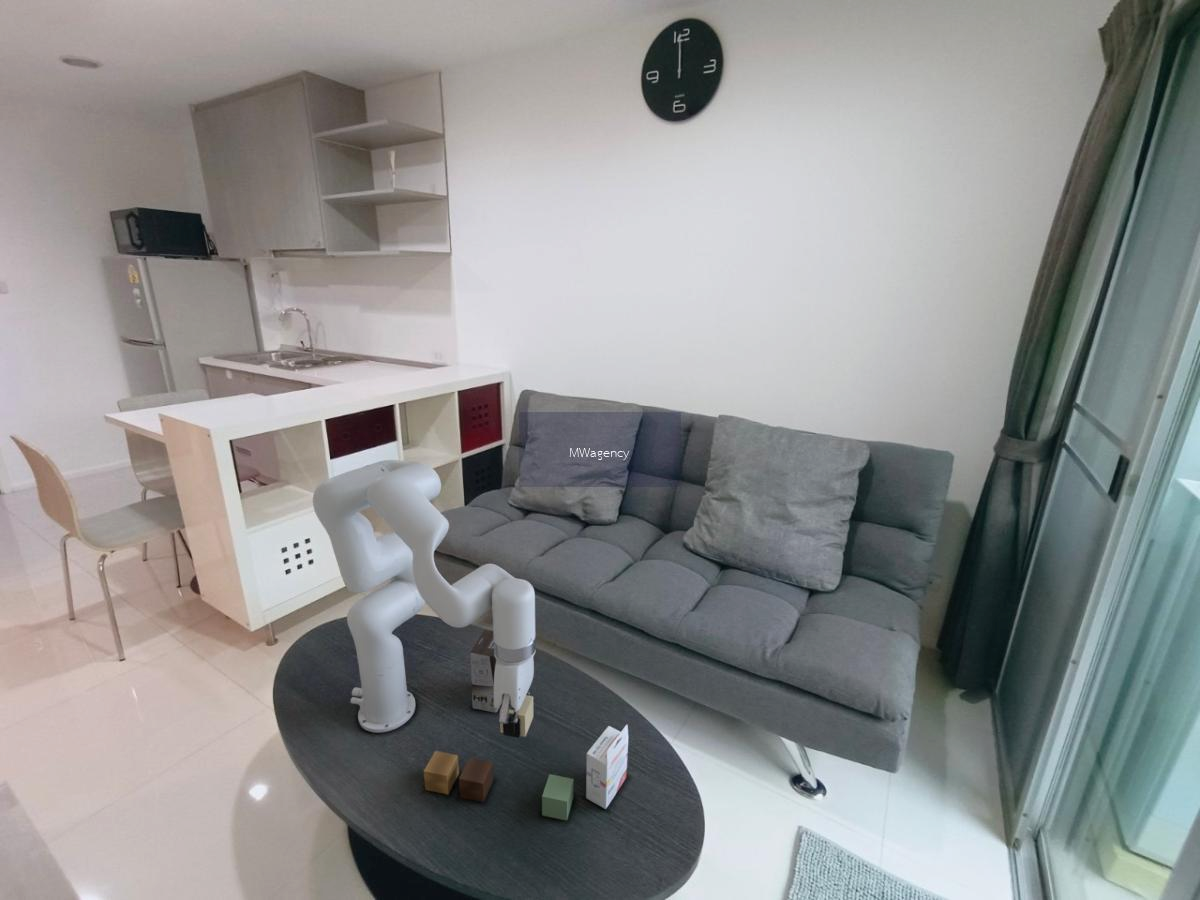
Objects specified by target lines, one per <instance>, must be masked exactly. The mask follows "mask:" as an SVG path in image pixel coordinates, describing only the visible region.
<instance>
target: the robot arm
mask: <svg viewBox="0 0 1200 900" xmlns="http://www.w3.org/2000/svg"><path fill="white" fill-rule="evenodd" d="M441 491H442V481H441V478H440V475H439V474H438V473H437V471H436V470H435V469H434V468H433V467H431V466H430V465H428V464H426V463H424V462H420V461H414V460H400V459H399V460H398V459H397V460H396V459H386V460H381V461H376V462H373V463H370V464H367V465H365V466H362V467H359V468H355V469H352V470H349V471H346V472H344V473H340V474H337V475H335V476H332V477H330V478H328V479H326V480H324V481H323V482H321V483H320V484H318V486H317V487H316V488H315V489H314V492H313V497H312V506H313V510H314V513H315V515H316V517H317V519H318V520H319V523H320V524H321V526H322V527H323V528H324V530H325V532H326V533H327V535H328V537H329V540H330V543H331V548H332V550H333V554H334V556H335V560H336V563H337V566H338V569H339V572H340V575H341V578H342V581H343V584H344V585H345V587H346V589H347V590H348V591H349V592H351V593H352V594H353V593H354V594H363V593H365V592H368V591H370V590H372V589H374V588H376V587H378V586H380V585H382V584H383V583H385V582H387V581H389V580H390V581H389V582H387V583H386V584H383V585H382V586H380V587H378V588H377V589H375V590H373V591H371V592H370V593H368V594H366V595H365V596H363V597H361V598H359V599H358V600H357V601H356V602H354V603H353V604H352V605H351V607H350V608H349V609H348V611H347V614H346V623H347V626H348V629H349V632H350V634H351V636H352V640H353V643H354V647H355V652H356V659H357V664H358V670H359V671H358V672H359V679H360V686H361V687H356V686H355V687H354V688H353V689H352V691H351V696H352V697H351V698H350V704H353V705H358V706H359V710H358V712H357V719H358V723H359V725H360V727H361V728H362V729H363V730H365V731H366V732H367V731H368V732H371V733H377V734H379V733H380V734H381V733H386V732H390V731H393V730H396V729H398V728H400V727H402V726H403V725H404V724H405V723H407V722H409V720H410V719H411V718H412V716H413V715H414V713H415V711H416V699H415V697H414V695H413V693H412V692H410V691H408V687H407V676H406V668H405V657H404V648H403V644H402V640H401V639H400V638H399V637H398V636H397V635H395V634H393V631H395V630H396V629H397V628H399V627H400V626H401V625H402V624H403V623H405V622H407V621H409V620H410V619H411V618H413V617H415V616H416V615H417V614H418V613H420V612H421V611H422V610H423V609H424V608H425V605H427V606H428V607H429V608H430V609H431V610H432V612H433V613H434V614H435V615H437V617H438V618H439V619H441V621H443V622H444V623H445V624H446V625H448V626H450V627H452V628H455V629H460V628H465V627H467V626H469V625H471V624H472V623H475V621H477V620H478V619H479V618H480V617H482V616H484V615H485V614H486V613H487V612H488V611H489V610H491V611H492V631H493V637H494V655H495V658H496V659H497V660H496V665H495V673H494V708H495V709H498V710H500V709H501V713H500V712H499V719H498V720H499V721H498V723H499V724H500V723H503V733H502V734H503V735H504V736H507V737H512V738H518V739H519V738H520V737H521V736H520V719H518V713H519V709H520V708H521V705H522V703H523V701H524V699H525V697H526V695H528V696H530V693H531V685H532V683H533V679H534V674H535V664H534V663H535V662H534V660H535V659H534V656H535V654H536V649H537V648H536V594H535V588H534V587H533V585H532V584H531V582H529V581H528V580H526V579H523V578H516V577H514V576H513V575H511V574H510V573H509V572H508V571H506V570H505V569H504V568H502V567H501V566H498V565H497V564H494V563H485V564H483V565H481V566H479V567H477V568H475V570H473V571H472V572H470V573H468V574H466V575H465V576H463V577H462V578H459V580H457V581H455V582H454V583H452V584H450V583H449V582H448V581H447V580H446V579H445V578H444V577H443V576H442V574H441V573H440V572H439V570H438V568H437V566H436V563H435V558H434V557H435V556H434V555H435V551H436V549H437V548H438V547H439V546H440V545H441V544H442V542H443V540H444V539H445V537H446V536H447V534H448V531H449V529H450V523H449V521H448V519H447V518H446V517H445V516H444V515H443V514H442V513H441V512H440V510H438V509H437V508H436V507H435V506H434V504H432V502H430V501H432V500H435V499H436V498H437V497H438V496H439V495H440V493H441ZM370 508H372V509H373V511H374V512H375V513H377V515H378V516H379V517H380V518H381V519H382V520H383V521H384V522H385V523H386V524H387V526H388V527H389V528H390V529H391V530H392V532H388V533H385V534H382V535H380V536H378V537H376V535H375V531H374V527H373V525H372V523H371V521H370V520H369V519H368V518H367V517H366V516H365V515H364V514H362V513H361V512H362V511H364V510H368V509H370ZM501 707H502V708H501ZM509 710H514V716H513V715H509Z"/></svg>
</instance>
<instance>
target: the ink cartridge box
mask: <svg viewBox="0 0 1200 900" xmlns="http://www.w3.org/2000/svg"><path fill="white" fill-rule="evenodd" d="M629 737H630V736H629V726H628V724H626V725H625V726H624V727H623V729H622V730H621V731H620V730H618V729H616V728H614V727H612V726H610V725H608V726H607V727H606V728H605V730H604V731H603V732H602V733H601V734H600V736H599V737H598V738H597V739H596V741H594V743H593V744H592V746H591V747H590V748H589V749H588V751H587V752H586V772H585V773H586V774H585V775H586V777H585V779H586V781H585V783H586V784H585V787H586V789H585V798H586V799H587V800H589V801H590V802H591V803H594V804H595V805H597V806H599V807H601V808H602V809H604V810H606V809H607V808H608V807H609V805H610V804H611V802H612V801H613V799H614V798H615V796H616V794H617V793H618V792H619V790H620V788H621V787H622V785H623V784H624V782H625V780H626V779H627V772H628V771H627V769H628V755H629Z"/></svg>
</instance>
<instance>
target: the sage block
mask: <svg viewBox="0 0 1200 900" xmlns="http://www.w3.org/2000/svg"><path fill="white" fill-rule="evenodd" d="M574 782H575V781H574V778H570V777H566V776H560V775H556V774H551V773H549V775H548V777H547V780H546V783H545V786H544V789H543V792H542V795H541V815H542V816H543V817H547V818H552V819H558V820H561V821H566V822H567V821H568V819H569V815H570V811H571V809H572V804H573V800H574V786H575V785H574Z"/></svg>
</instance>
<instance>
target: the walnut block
mask: <svg viewBox="0 0 1200 900" xmlns="http://www.w3.org/2000/svg"><path fill="white" fill-rule="evenodd" d="M459 775H460V776H458V777H459V778H458V785H459V786H458V787H459V798H461V799H466V800H470V801H474V802H475V801H476V802H480V803H484V802H485V800H486V798H487V796H488V793H489V791H490V790H491V787H492V784H493V782H494V771H493V762H492V761H488V760H484V759H478V758H474V757H468V760H467V761H466V764H465V766H464V767H463V769H462V771H461V773H460V774H459Z"/></svg>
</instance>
